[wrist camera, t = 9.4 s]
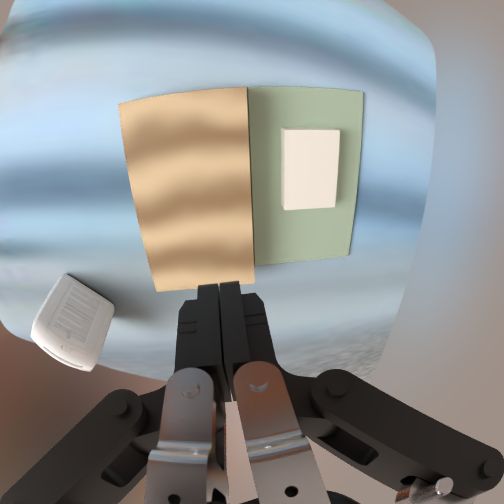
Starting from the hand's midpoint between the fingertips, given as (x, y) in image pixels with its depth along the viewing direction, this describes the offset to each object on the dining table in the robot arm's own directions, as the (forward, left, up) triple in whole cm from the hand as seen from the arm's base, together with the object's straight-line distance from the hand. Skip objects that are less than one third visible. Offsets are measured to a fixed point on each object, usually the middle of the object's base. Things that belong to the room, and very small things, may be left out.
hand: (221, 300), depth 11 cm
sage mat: (+4, +10, -23) cm, 25 cm away
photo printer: (+18, -22, -23) cm, 37 cm away
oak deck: (+4, -3, -23) cm, 24 cm away
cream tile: (+2, +10, -21) cm, 23 cm away
